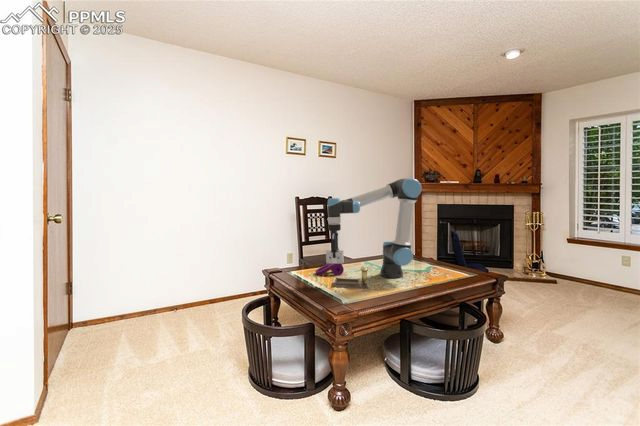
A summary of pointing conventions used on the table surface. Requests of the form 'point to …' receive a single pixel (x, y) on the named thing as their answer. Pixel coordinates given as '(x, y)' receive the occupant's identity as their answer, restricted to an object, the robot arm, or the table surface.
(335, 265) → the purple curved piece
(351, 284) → the hinge base
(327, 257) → the grey block with holes
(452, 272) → the table surface
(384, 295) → the table surface
